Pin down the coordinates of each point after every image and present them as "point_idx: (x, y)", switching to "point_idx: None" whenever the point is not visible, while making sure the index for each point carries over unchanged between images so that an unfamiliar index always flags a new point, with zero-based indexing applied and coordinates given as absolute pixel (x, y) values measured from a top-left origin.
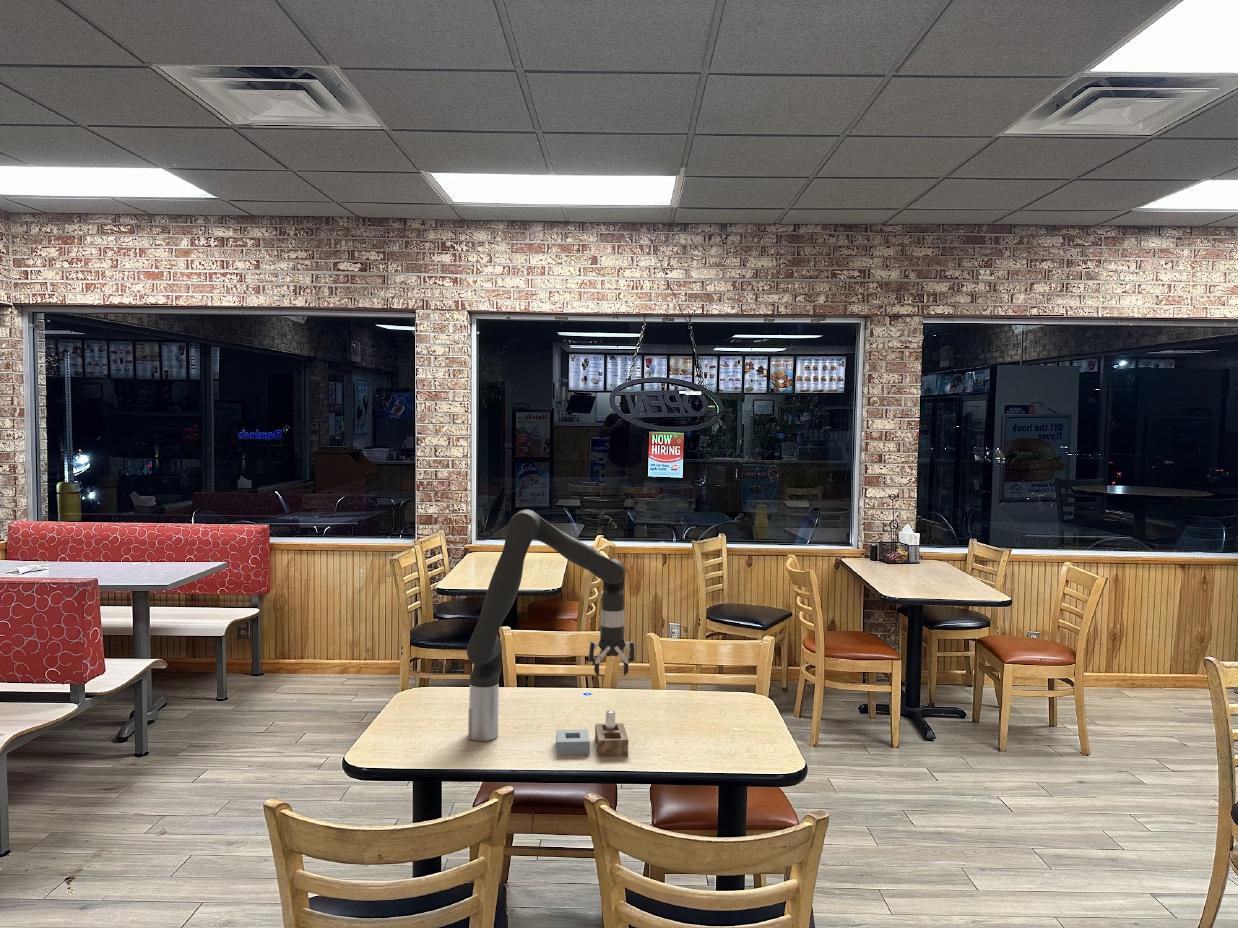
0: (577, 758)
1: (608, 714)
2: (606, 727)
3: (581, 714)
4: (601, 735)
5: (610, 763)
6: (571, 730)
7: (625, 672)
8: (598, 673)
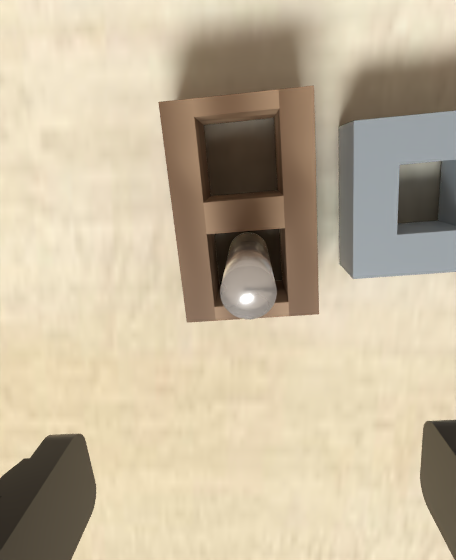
0: (395, 83)
1: (261, 265)
2: (267, 256)
3: (344, 514)
4: (295, 159)
5: (251, 29)
6: (432, 261)
7: (42, 455)
8: (447, 433)
